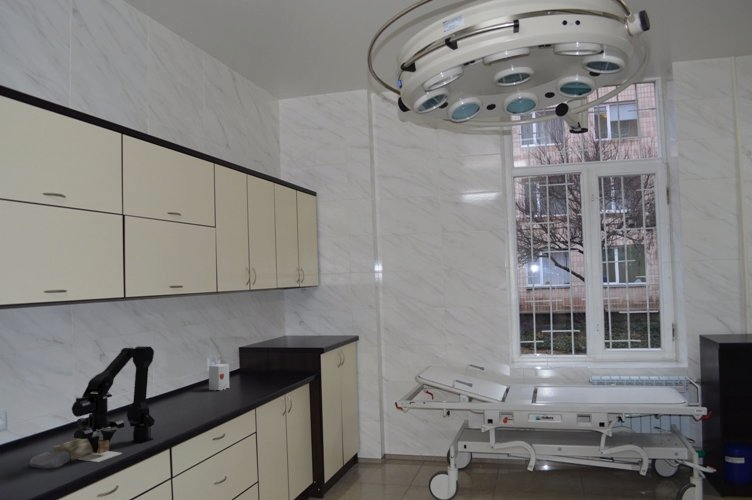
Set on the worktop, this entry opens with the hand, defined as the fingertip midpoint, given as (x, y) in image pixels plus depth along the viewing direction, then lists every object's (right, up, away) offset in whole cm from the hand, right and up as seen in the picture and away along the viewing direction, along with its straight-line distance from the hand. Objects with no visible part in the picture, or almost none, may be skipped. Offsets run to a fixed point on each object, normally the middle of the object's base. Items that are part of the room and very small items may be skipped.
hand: (100, 451), depth 222 cm
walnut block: (0, 0, 0) cm, 0 cm away
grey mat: (0, -2, 0) cm, 2 cm away
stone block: (-16, -3, -8) cm, 18 cm away
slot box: (-10, -3, +6) cm, 12 cm away
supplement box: (+10, -8, +132) cm, 133 cm away
